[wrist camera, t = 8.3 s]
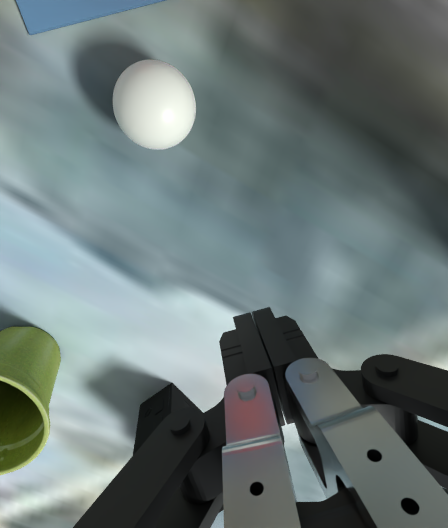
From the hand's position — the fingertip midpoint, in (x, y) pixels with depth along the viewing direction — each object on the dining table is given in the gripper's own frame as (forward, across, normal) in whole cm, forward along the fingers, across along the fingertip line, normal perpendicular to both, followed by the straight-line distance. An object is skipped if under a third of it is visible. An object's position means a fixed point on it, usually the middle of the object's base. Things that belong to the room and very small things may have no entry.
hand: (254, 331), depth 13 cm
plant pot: (+17, +20, +6) cm, 27 cm away
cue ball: (+14, +2, -10) cm, 17 cm away
